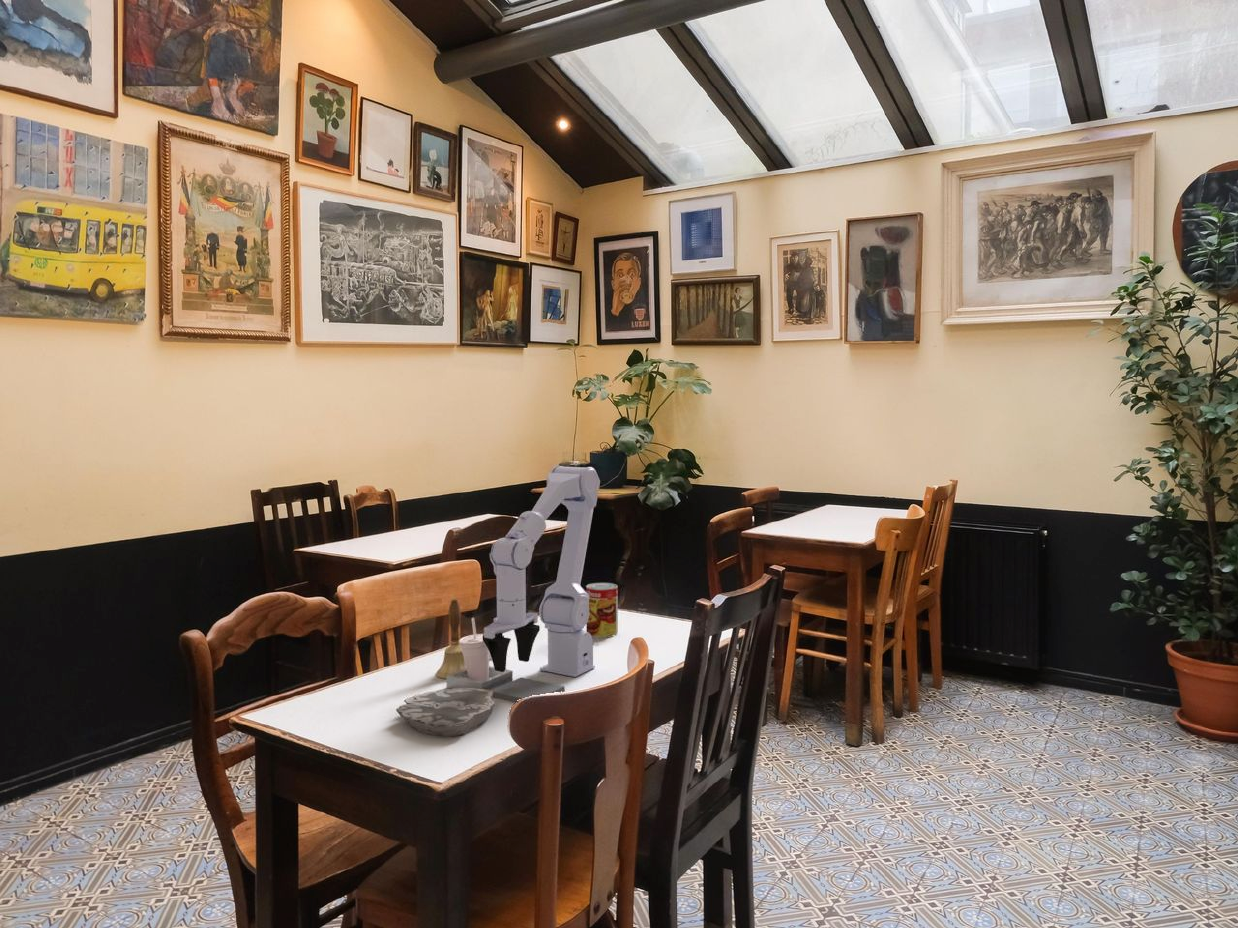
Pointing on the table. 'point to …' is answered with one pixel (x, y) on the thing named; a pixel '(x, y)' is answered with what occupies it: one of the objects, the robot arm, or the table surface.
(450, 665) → the hand bell
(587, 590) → the canned food
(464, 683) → the holder
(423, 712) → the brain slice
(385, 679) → the table surface
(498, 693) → the mat
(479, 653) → the smoothie
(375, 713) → the table surface
